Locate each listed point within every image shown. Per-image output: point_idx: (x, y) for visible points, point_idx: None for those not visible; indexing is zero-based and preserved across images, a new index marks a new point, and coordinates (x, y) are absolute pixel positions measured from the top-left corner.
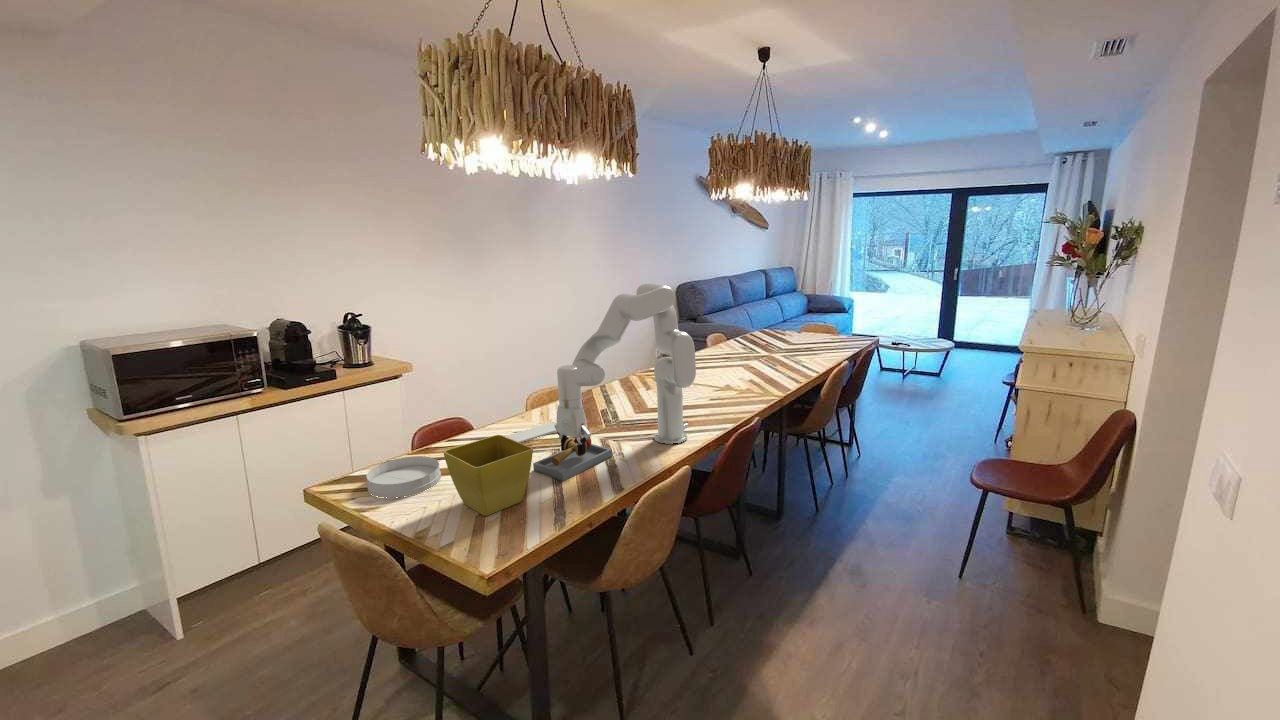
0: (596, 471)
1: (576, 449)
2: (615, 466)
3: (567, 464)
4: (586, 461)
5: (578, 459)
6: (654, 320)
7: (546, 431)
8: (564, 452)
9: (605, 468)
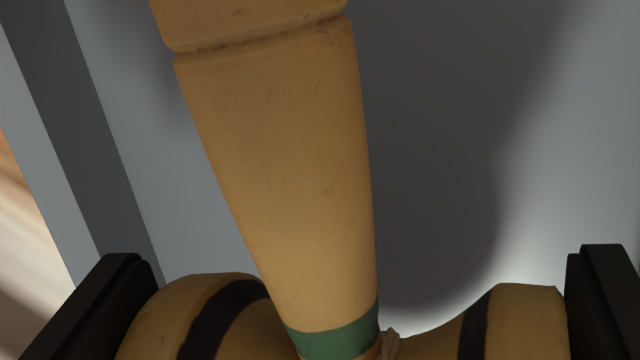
0: (5, 192)
1: (173, 342)
2: (21, 354)
3: (362, 82)
4: (52, 229)
5: (379, 277)
6: None
7: None
8: (207, 85)
9: (27, 286)
